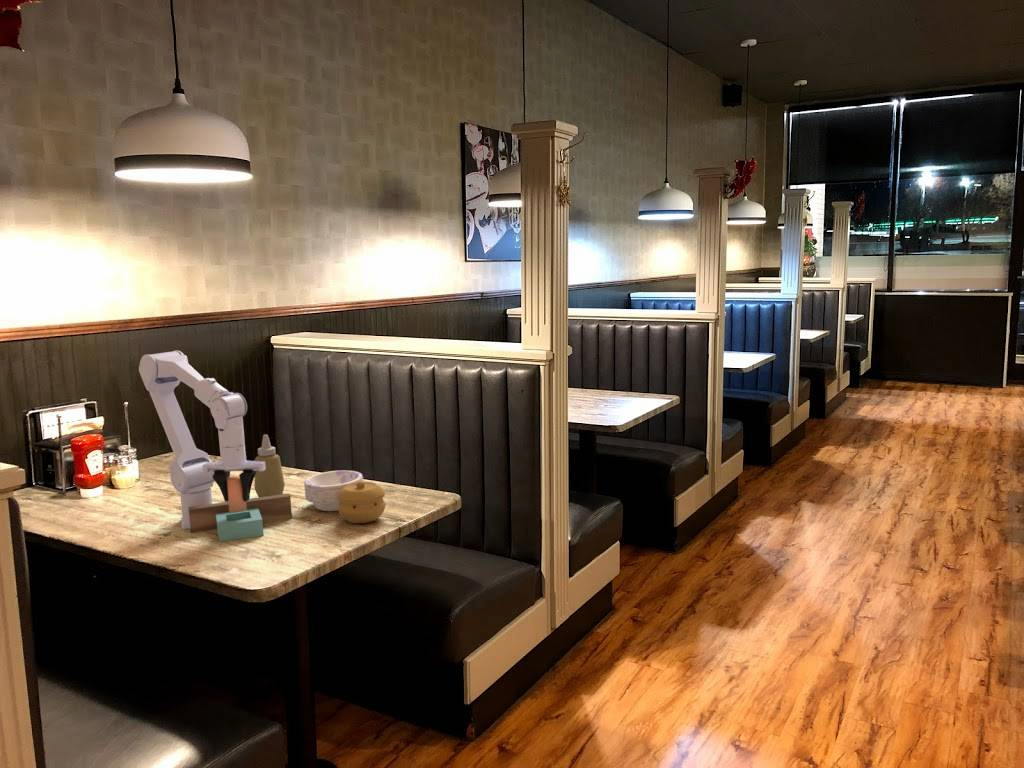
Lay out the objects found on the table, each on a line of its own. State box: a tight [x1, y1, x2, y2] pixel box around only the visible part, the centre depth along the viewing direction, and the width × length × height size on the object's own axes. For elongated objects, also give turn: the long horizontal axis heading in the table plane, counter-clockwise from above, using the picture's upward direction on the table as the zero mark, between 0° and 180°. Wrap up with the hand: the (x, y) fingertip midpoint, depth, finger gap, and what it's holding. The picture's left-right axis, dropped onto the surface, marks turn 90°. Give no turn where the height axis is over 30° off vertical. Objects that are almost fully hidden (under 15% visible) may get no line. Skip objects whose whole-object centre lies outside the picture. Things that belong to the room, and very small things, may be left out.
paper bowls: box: [303, 469, 364, 512], centre depth 221 cm, size 15×15×8 cm
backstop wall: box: [188, 493, 293, 534], centre depth 208 cm, size 2×24×6 cm, turn 112°
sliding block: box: [216, 508, 264, 543], centre depth 202 cm, size 10×10×4 cm
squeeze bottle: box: [253, 434, 286, 498], centre depth 228 cm, size 8×8×18 cm
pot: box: [337, 480, 387, 524], centre depth 209 cm, size 12×12×10 cm
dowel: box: [227, 475, 247, 512], centre depth 201 cm, size 4×4×8 cm
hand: (237, 500), depth 201 cm, fingers closed on dowel, 4 cm apart
